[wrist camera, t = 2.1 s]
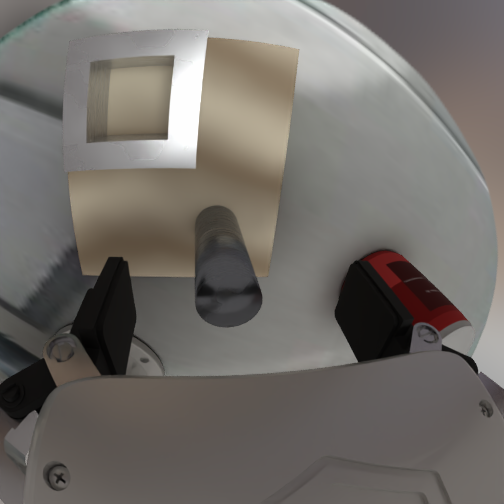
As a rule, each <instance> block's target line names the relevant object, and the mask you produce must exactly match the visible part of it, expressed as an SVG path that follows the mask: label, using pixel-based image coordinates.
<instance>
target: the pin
mask: <svg viewBox="0 0 504 504" xmlns="http://www.w3.org/2000/svg"><path fill="white" fill-rule="evenodd" d="M195 304H196V309H197V312H198V314H199V315H200V316H201V318H202V319H204V320H205V321H206V322H208V323H210V324H212V325H215V326H218V327H234V326H239V325H241V324H244V323H246V322H248V321H249V320H251V319H252V318H253V317H254V316H255V315H256V314H257V313H258V311H259V310H260V308H261V305H262V293H261V290H260V287H259V284H258V281H257V278H256V275H255V272H254V269H253V266H252V263H251V260H250V257H249V254H248V251H247V248H246V245H245V242H244V239H243V236H242V233H241V230H240V227H239V224H238V221H237V218H236V216H235V214H234V213H233V212H232V211H231V210H230V209H228V208H226V207H224V206H219V205H215V206H210V207H207V208H205V209H204V210H203V211H201V212H200V214H199V215H198V216H197V218H196V222H195Z"/></svg>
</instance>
